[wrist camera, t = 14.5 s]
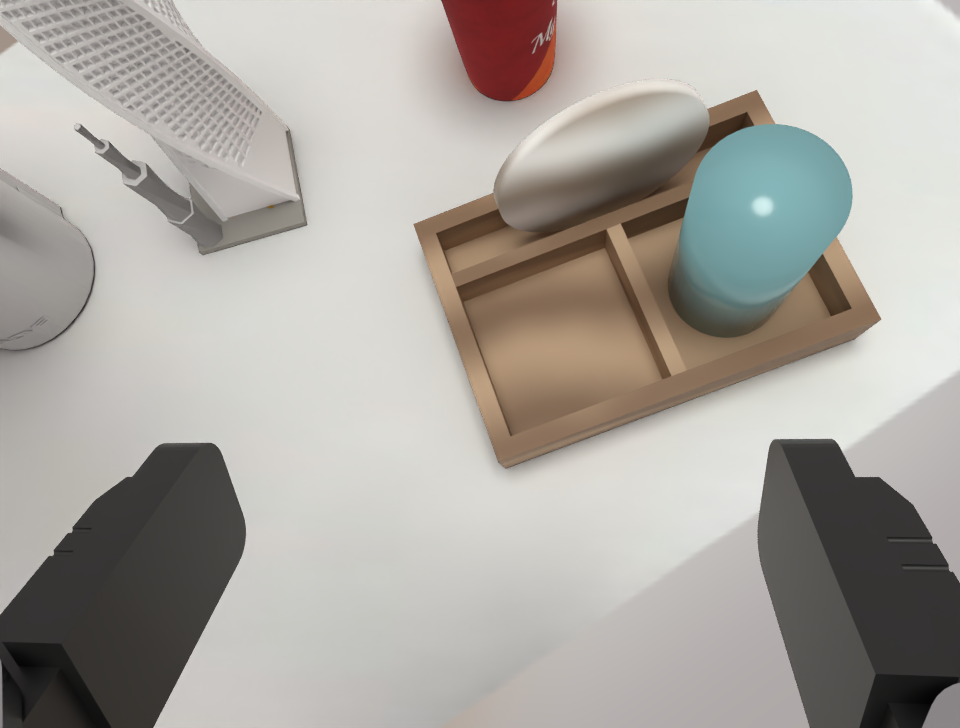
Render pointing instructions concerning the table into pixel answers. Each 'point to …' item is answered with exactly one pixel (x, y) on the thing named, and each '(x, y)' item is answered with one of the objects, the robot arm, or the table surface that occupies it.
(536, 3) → the paper cup
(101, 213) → the table surface
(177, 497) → the robot arm
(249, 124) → the skyscraper
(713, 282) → the teal dome-topped cylinder
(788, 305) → the tray
